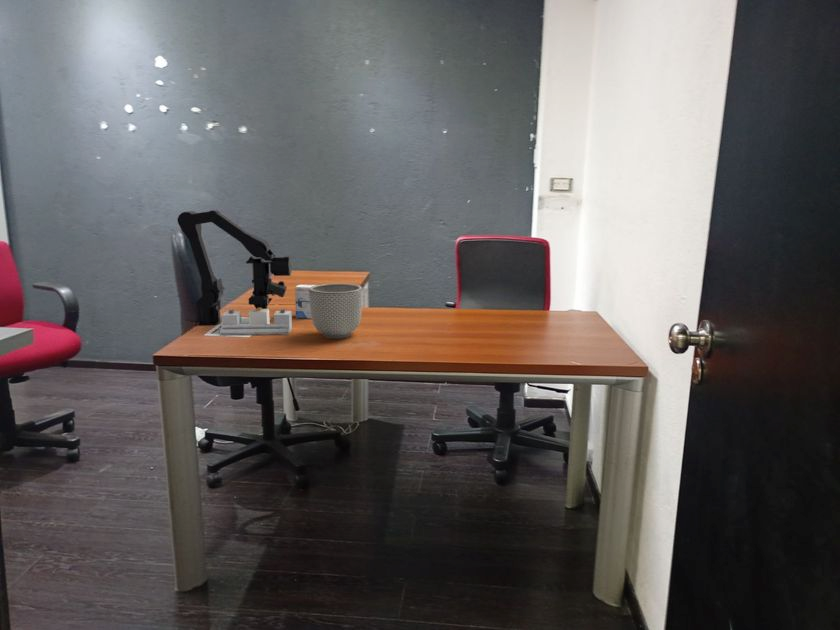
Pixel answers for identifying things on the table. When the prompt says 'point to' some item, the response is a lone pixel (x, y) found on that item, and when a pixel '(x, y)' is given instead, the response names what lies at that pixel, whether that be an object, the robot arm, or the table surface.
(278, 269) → the robot arm
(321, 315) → the planter
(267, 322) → the module
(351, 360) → the table surface
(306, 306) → the ink box
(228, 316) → the block
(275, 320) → the block
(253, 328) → the rail
